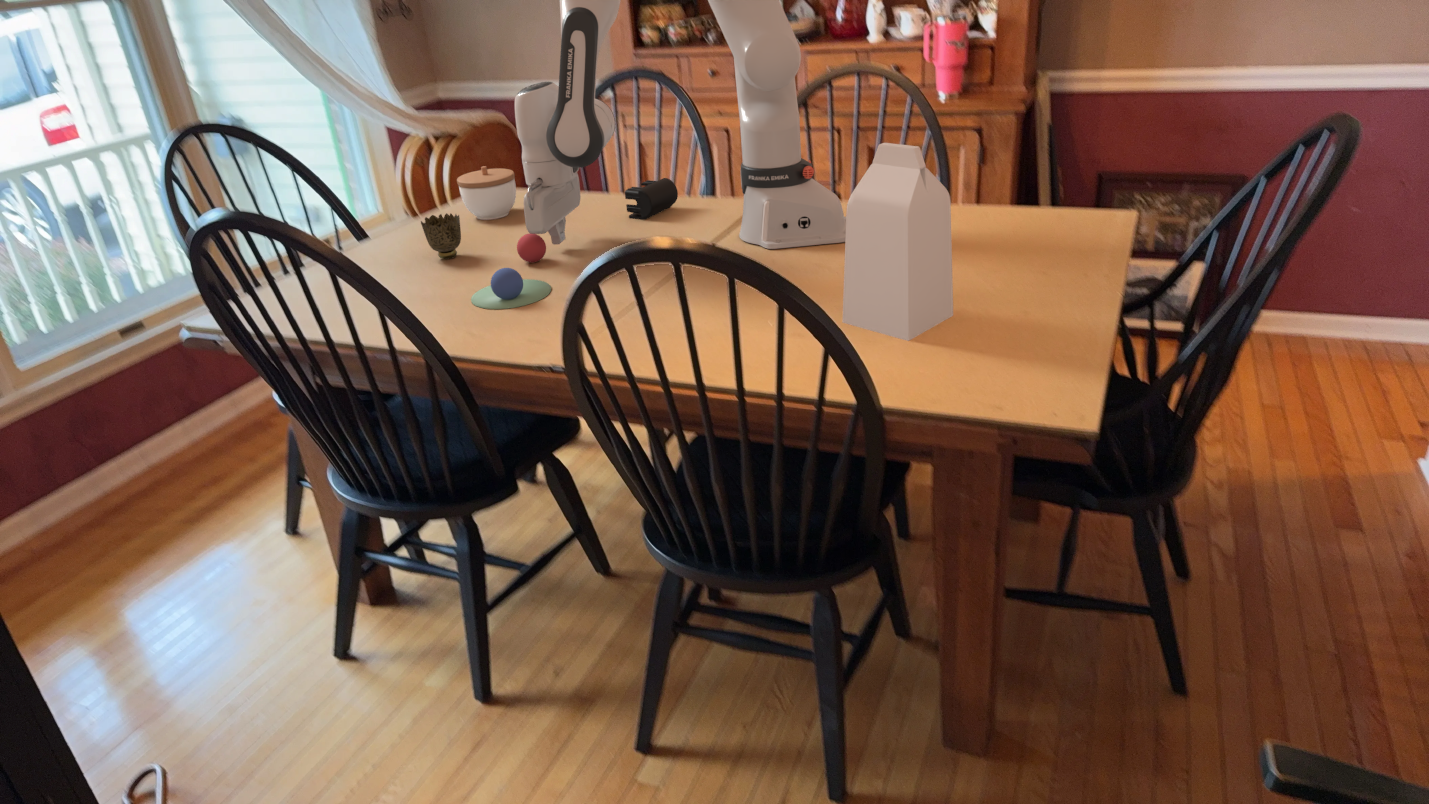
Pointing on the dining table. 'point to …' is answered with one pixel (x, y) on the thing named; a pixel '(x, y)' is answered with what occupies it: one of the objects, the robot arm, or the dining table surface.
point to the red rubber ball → (531, 247)
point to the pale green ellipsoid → (528, 295)
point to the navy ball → (506, 283)
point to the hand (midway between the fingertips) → (559, 242)
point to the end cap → (651, 198)
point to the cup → (443, 234)
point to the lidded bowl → (488, 192)
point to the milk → (898, 247)
